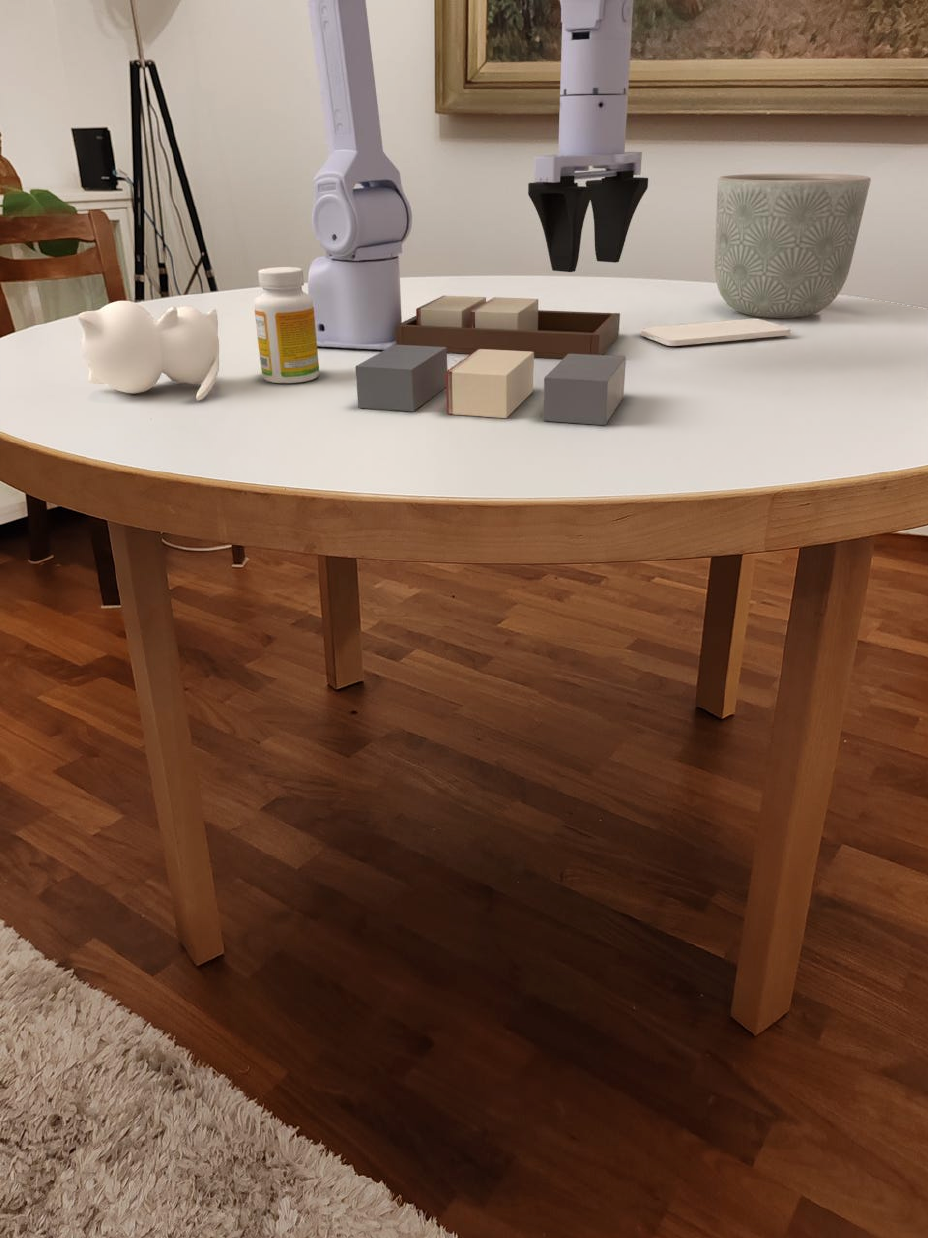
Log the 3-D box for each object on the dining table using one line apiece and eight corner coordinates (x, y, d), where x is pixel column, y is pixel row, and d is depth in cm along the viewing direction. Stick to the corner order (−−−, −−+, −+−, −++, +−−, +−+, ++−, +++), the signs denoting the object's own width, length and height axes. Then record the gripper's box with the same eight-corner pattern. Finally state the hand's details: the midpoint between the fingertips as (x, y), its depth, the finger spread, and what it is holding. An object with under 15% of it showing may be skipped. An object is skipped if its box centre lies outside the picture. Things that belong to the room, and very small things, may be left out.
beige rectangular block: (446, 414, 78) (445, 371, 76) (478, 388, 85) (478, 348, 84) (506, 418, 76) (507, 374, 75) (533, 391, 84) (534, 351, 82)
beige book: (416, 342, 101) (415, 308, 100) (443, 327, 109) (443, 295, 107) (462, 344, 100) (461, 310, 98) (486, 328, 108) (486, 296, 106)
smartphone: (638, 328, 105) (756, 317, 109) (637, 335, 106) (755, 324, 109) (670, 340, 99) (794, 329, 103) (669, 348, 99) (793, 336, 103)
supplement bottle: (329, 372, 91) (321, 266, 87) (303, 386, 87) (293, 274, 82) (279, 369, 93) (269, 264, 89) (251, 382, 89) (238, 272, 84)
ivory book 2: (470, 345, 100) (470, 310, 98) (494, 329, 107) (494, 297, 106) (517, 347, 98) (517, 312, 97) (537, 331, 106) (538, 298, 104)
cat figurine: (213, 274, 85) (70, 278, 81) (234, 359, 80) (83, 367, 76) (214, 348, 92) (83, 355, 88) (234, 430, 87) (95, 441, 83)
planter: (735, 297, 128) (749, 172, 121) (865, 308, 119) (888, 174, 112) (682, 316, 116) (694, 178, 108) (822, 330, 107) (845, 181, 100)
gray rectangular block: (357, 407, 80) (355, 365, 78) (396, 382, 88) (394, 344, 86) (413, 411, 79) (411, 369, 77) (447, 386, 86) (446, 346, 85)
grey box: (543, 421, 76) (544, 376, 74) (566, 393, 83) (568, 353, 82) (605, 425, 74) (607, 380, 73) (623, 397, 82) (626, 356, 80)
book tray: (396, 349, 101) (395, 325, 99) (435, 327, 111) (434, 305, 110) (598, 360, 95) (599, 334, 94) (618, 336, 105) (620, 313, 104)
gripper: (589, 93, 73) (581, 279, 79) (676, 95, 83) (663, 260, 89) (514, 95, 77) (512, 272, 83) (606, 97, 87) (598, 255, 93)
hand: (586, 266), depth 86 cm, fingers open, 7 cm apart
